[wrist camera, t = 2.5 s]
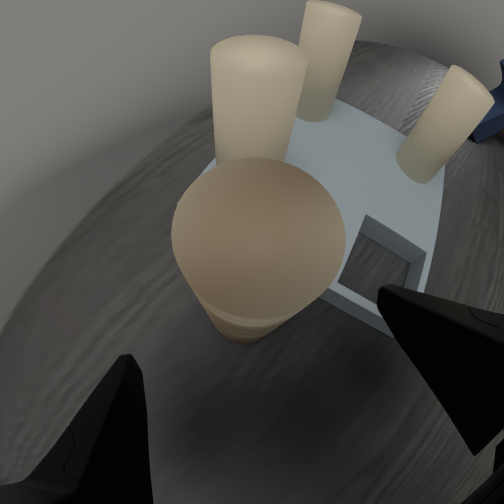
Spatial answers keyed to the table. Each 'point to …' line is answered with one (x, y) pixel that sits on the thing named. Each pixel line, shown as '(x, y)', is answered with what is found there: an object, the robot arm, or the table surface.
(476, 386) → the robot arm
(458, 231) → the table surface
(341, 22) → the stool seat
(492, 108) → the glue gun
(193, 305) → the table surface
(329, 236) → the loose leg
